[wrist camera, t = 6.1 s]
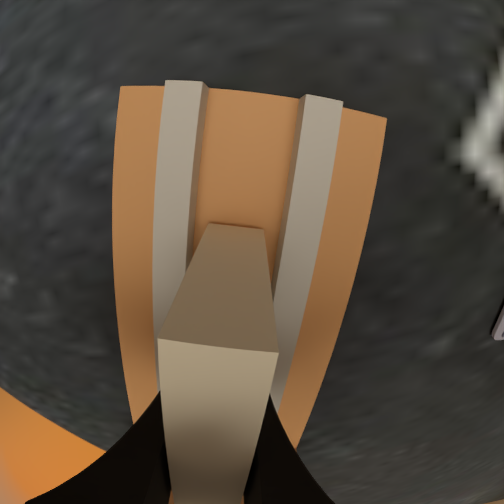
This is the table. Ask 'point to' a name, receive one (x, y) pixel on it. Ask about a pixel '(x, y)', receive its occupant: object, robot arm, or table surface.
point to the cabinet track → (241, 218)
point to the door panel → (217, 365)
